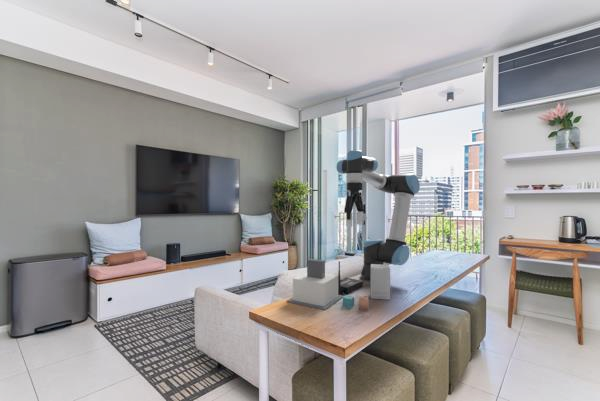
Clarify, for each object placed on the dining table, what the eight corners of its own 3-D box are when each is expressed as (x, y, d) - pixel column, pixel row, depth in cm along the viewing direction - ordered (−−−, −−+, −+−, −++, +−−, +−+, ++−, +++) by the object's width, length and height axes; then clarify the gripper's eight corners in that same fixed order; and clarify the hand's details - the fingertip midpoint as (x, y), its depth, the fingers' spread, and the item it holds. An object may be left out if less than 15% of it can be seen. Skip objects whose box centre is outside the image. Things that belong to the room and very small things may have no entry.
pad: (307, 290, 153) (307, 289, 153) (343, 296, 143) (343, 295, 143) (286, 301, 136) (286, 300, 136) (325, 310, 126) (325, 308, 126)
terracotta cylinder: (360, 306, 130) (360, 295, 130) (369, 308, 128) (369, 297, 128) (357, 309, 127) (357, 298, 127) (366, 311, 125) (366, 299, 125)
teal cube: (346, 303, 134) (346, 295, 134) (354, 305, 132) (354, 296, 132) (342, 306, 130) (342, 297, 130) (351, 308, 128) (351, 299, 128)
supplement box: (390, 300, 138) (390, 268, 138) (370, 298, 140) (371, 267, 140) (388, 294, 147) (388, 264, 147) (370, 293, 149) (370, 263, 149)
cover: (309, 290, 150) (309, 255, 150) (338, 296, 142) (338, 259, 142) (292, 299, 137) (292, 261, 137) (323, 306, 128) (323, 265, 128)
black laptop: (343, 283, 167) (343, 253, 167) (365, 288, 158) (366, 256, 158) (322, 292, 151) (322, 259, 151) (346, 298, 142) (346, 262, 142)
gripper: (356, 183, 157) (356, 223, 157) (337, 181, 135) (337, 227, 135) (369, 183, 153) (369, 224, 153) (352, 180, 131) (352, 228, 131)
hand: (354, 225), depth 144 cm, fingers open, 13 cm apart
